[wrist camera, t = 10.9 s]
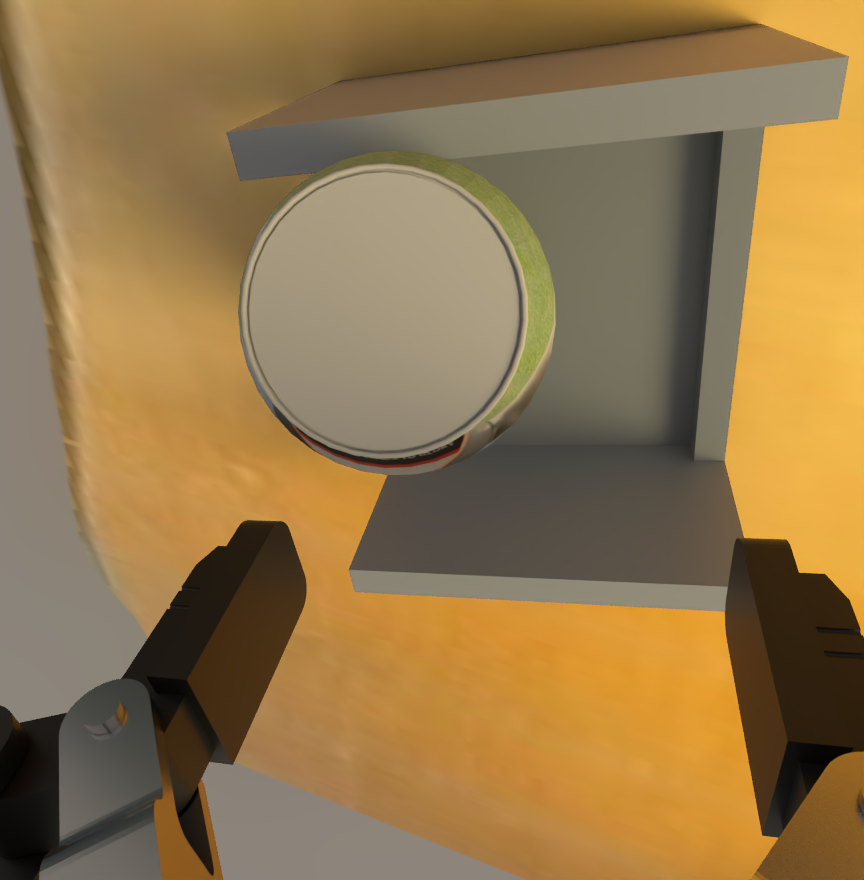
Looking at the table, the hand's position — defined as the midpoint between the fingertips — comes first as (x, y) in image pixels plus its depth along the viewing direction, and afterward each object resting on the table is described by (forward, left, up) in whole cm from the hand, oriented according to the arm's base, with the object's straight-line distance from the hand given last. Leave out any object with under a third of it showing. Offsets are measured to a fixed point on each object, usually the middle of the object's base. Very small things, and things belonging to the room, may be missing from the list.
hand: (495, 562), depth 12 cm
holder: (0, 0, -14) cm, 14 cm away
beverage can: (0, -3, -12) cm, 13 cm away
